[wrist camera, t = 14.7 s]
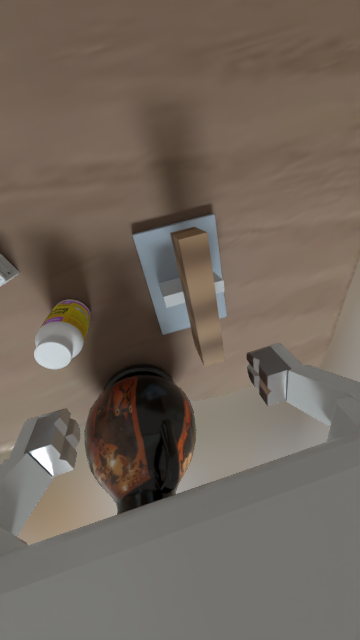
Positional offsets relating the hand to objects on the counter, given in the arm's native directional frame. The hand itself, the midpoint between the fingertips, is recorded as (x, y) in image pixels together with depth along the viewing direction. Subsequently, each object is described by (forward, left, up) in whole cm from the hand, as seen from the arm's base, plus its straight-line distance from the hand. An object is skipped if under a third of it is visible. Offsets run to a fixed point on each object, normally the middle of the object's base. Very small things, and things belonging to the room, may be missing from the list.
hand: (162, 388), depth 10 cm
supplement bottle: (+9, -15, -34) cm, 38 cm away
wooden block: (+8, +7, -26) cm, 28 cm away
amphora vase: (+32, -9, -34) cm, 47 cm away
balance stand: (+8, +7, -34) cm, 35 cm away
